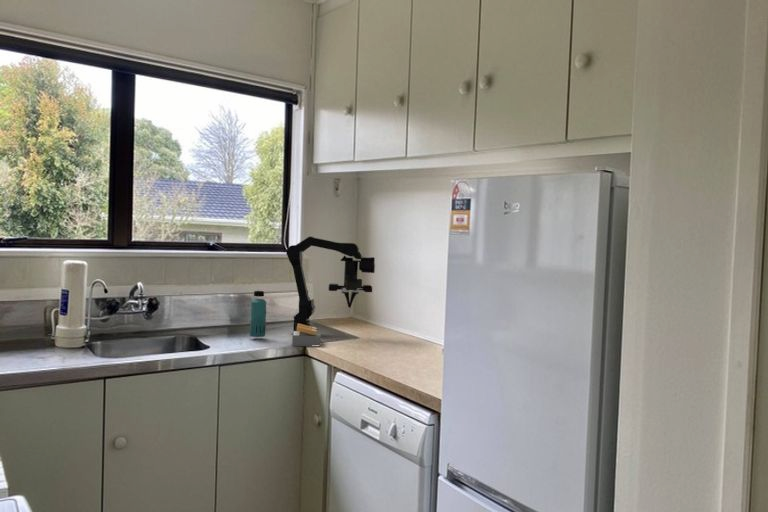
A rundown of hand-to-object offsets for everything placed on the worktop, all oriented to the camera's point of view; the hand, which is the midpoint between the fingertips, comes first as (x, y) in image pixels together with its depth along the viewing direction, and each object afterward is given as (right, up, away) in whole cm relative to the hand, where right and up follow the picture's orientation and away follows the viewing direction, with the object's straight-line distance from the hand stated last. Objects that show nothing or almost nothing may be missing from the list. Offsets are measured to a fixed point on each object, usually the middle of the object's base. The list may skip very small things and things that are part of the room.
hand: (349, 307), depth 251 cm
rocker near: (-16, -7, -21) cm, 27 cm away
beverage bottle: (-37, -12, -14) cm, 41 cm away
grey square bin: (-16, -13, -18) cm, 27 cm away
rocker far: (-17, -7, -15) cm, 24 cm away
